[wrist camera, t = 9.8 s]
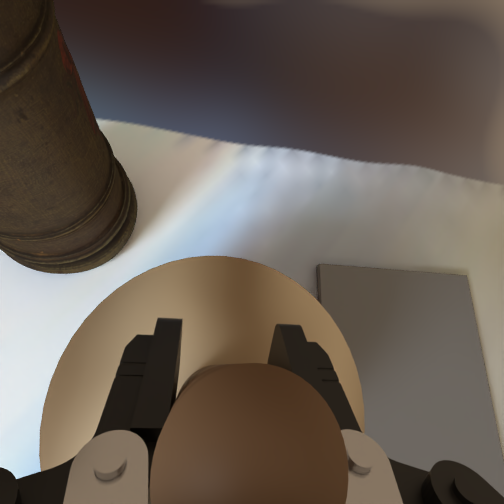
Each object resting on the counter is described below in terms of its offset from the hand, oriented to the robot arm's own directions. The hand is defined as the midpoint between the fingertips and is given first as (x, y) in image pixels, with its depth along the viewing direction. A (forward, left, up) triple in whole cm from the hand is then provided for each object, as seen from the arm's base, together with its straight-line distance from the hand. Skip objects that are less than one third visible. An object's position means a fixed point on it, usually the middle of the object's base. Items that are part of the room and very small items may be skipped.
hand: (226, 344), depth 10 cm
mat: (+14, -1, -11) cm, 18 cm away
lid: (0, -2, -4) cm, 4 cm away
